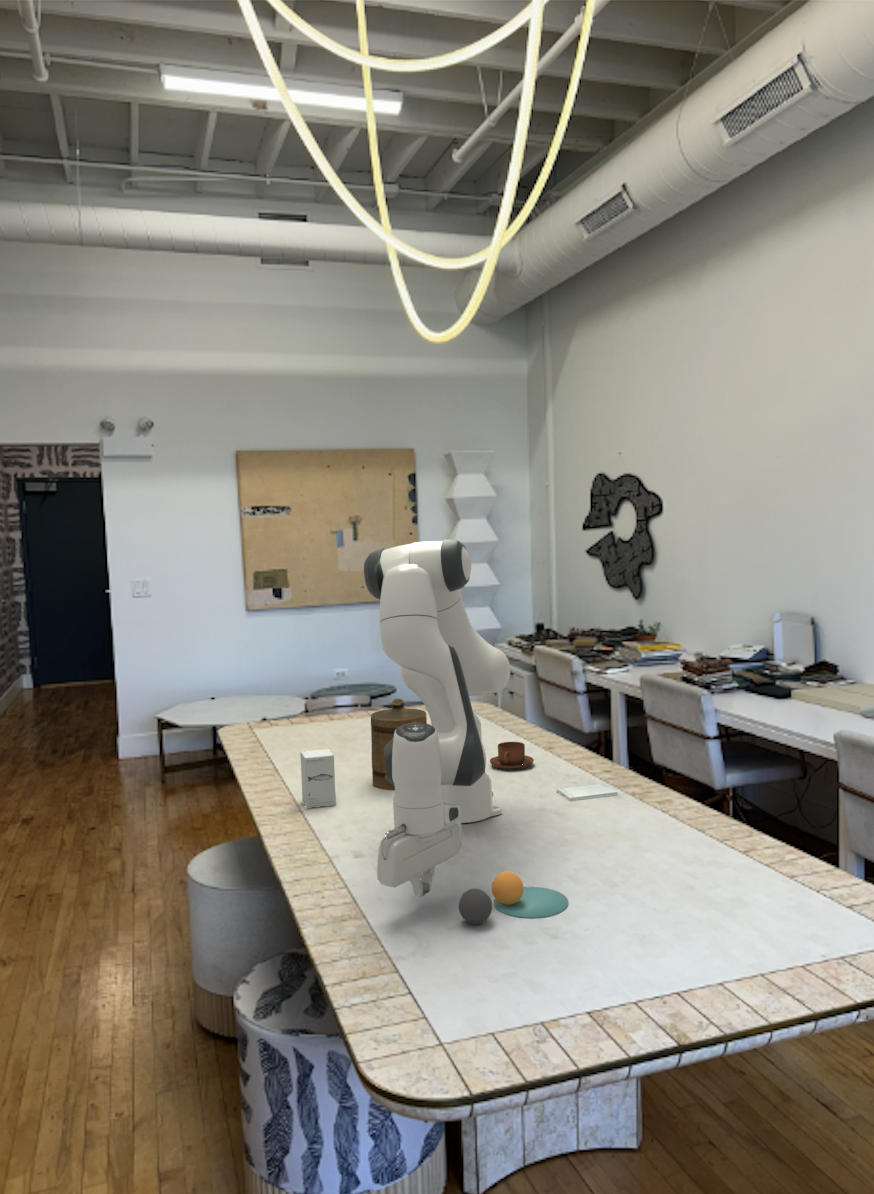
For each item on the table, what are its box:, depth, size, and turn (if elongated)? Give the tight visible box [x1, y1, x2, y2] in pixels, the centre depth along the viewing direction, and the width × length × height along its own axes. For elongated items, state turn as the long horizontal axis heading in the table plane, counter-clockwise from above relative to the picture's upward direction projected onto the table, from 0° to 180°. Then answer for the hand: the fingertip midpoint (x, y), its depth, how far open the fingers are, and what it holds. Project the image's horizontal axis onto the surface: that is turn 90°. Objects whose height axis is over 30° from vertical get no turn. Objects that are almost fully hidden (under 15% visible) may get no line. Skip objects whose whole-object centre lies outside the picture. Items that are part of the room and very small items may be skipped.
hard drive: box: [556, 783, 618, 802], centre depth 225 cm, size 2×8×12 cm
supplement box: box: [299, 748, 337, 809], centre depth 224 cm, size 7×7×13 cm
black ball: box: [458, 888, 493, 925], centre depth 154 cm, size 6×6×6 cm
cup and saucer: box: [489, 741, 535, 771], centre depth 253 cm, size 12×12×6 cm
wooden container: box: [370, 698, 428, 791], centre depth 240 cm, size 15×15×22 cm
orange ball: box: [491, 871, 525, 905], centre depth 161 cm, size 6×6×6 cm
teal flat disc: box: [493, 886, 569, 919], centre depth 161 cm, size 13×13×1 cm
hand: (422, 894), depth 163 cm, fingers closed
